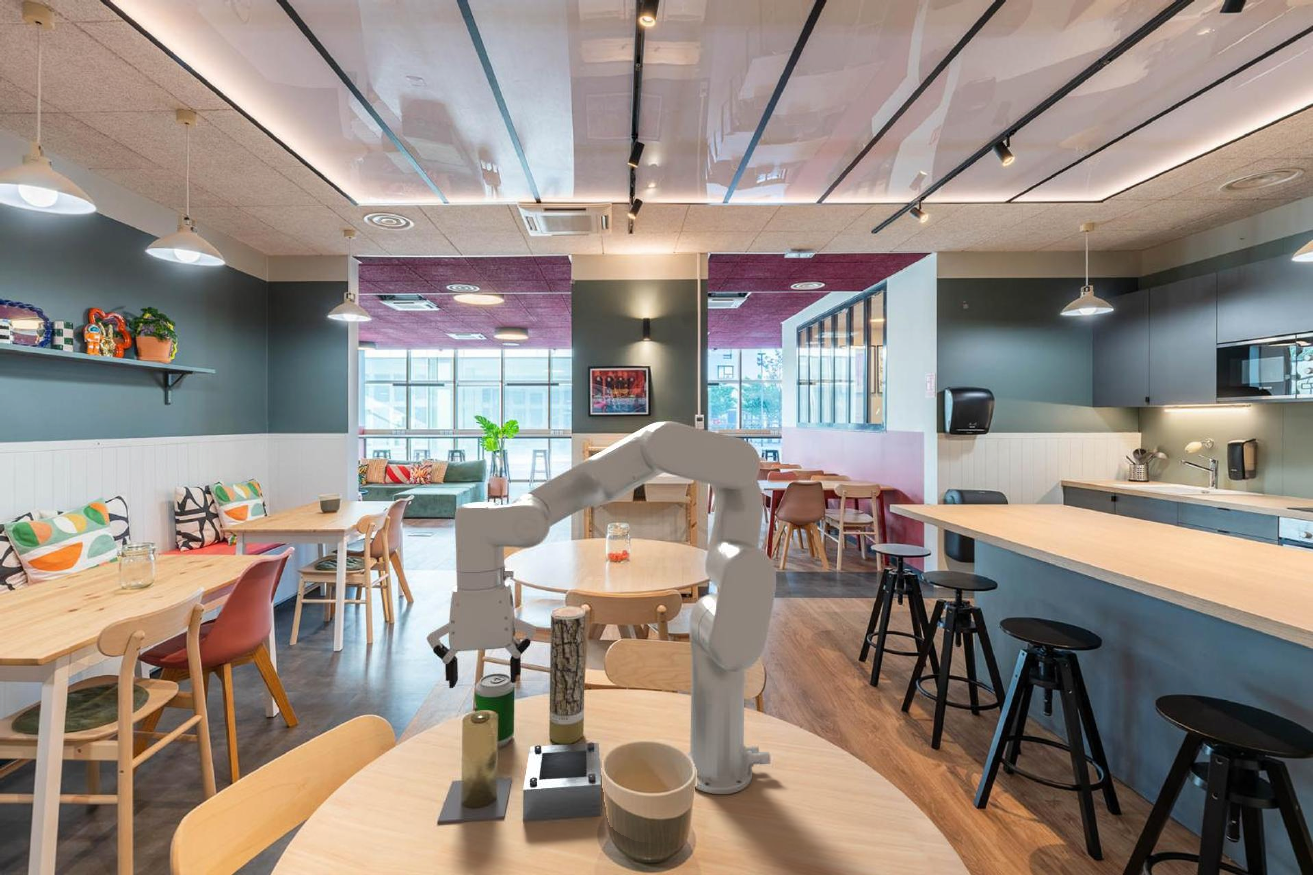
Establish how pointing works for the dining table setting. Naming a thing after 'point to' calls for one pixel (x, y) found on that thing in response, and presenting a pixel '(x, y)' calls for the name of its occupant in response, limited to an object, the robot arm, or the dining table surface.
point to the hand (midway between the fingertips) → (484, 681)
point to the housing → (562, 782)
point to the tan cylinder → (479, 759)
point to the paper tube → (567, 674)
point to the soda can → (497, 702)
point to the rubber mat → (459, 813)
